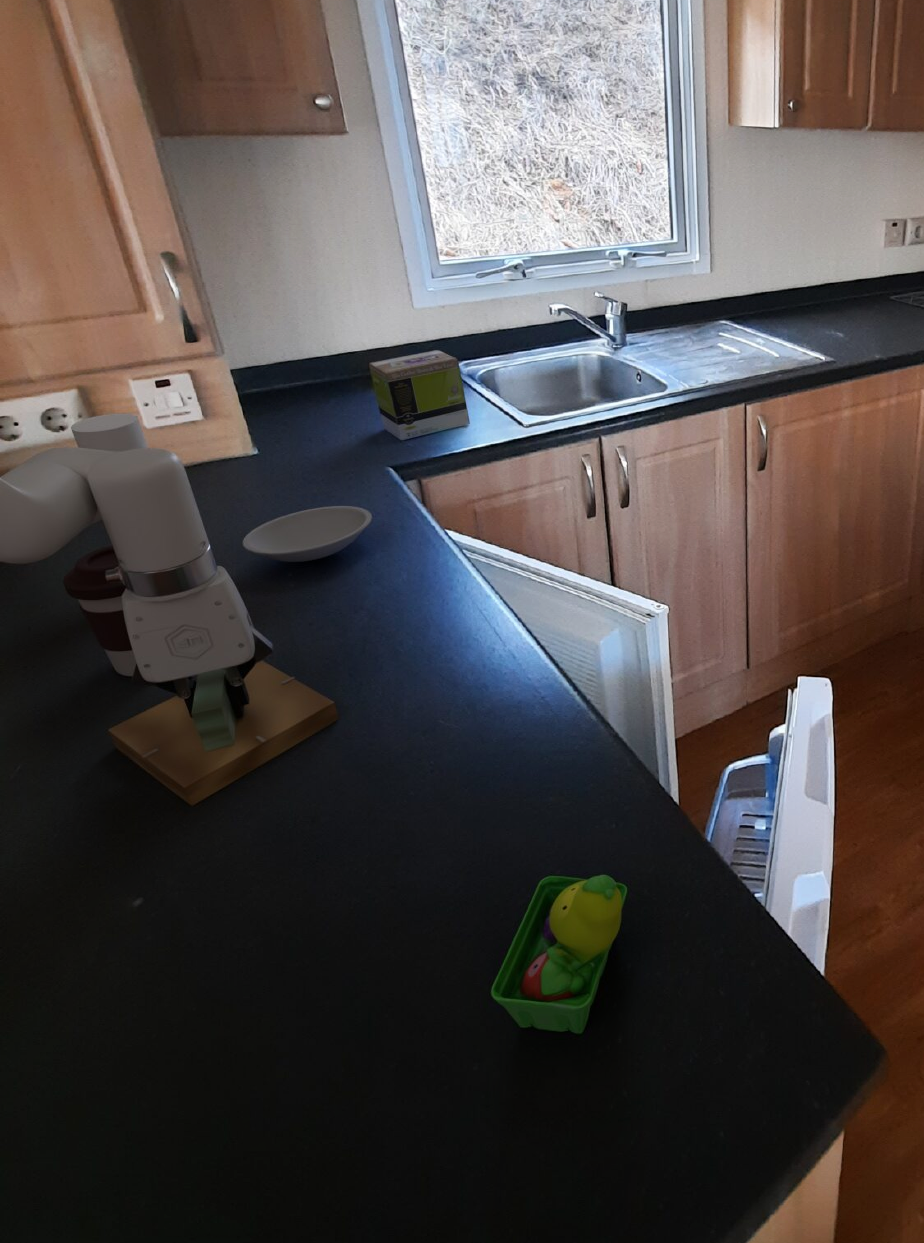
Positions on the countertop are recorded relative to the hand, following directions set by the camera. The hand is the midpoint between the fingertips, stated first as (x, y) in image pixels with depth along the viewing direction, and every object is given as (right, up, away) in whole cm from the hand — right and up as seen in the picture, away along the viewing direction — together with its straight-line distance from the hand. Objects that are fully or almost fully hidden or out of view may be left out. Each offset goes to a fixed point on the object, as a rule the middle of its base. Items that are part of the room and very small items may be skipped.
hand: (222, 713), depth 95 cm
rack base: (0, -2, +1) cm, 3 cm away
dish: (-10, +16, +37) cm, 42 cm away
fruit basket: (+45, -16, -25) cm, 54 cm away
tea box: (-15, +42, +88) cm, 99 cm away
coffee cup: (-18, +4, +13) cm, 22 cm away
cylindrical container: (-28, +12, +29) cm, 42 cm away
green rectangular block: (0, 0, 0) cm, 0 cm away
